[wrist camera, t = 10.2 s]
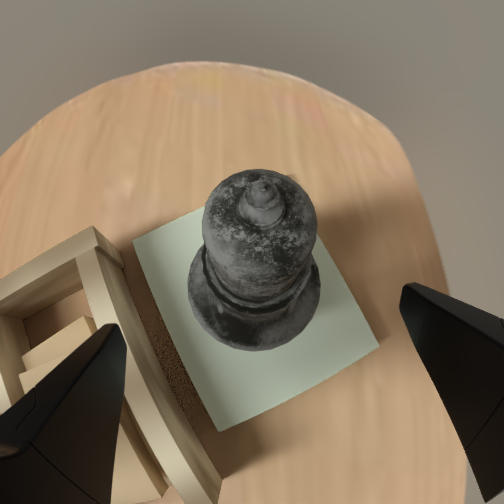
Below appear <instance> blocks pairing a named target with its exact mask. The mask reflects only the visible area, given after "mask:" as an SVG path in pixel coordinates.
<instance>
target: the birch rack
mask: <svg viewBox="0 0 504 504" xmlns="http://www.w3.org/2000/svg"><path fill="white" fill-rule="evenodd" d="M124 267H125V266H124V263H123V260H122V257H121V254H120V251H119V250H118V249H117V248H116V247H115V246H114V245H113V244H112V243H111V242H110V241H108V240H107V239H106V238H105V237H104V236H103V235H102V234H101V233H100V232H99V231H98V230H97V229H96V228H95V227H93V226H91V227H89V228H87V229H85V230H83V231H81V232H79V233H78V234H76V235H74V236H72V237H70V238H69V239H67V240H65V241H63V242H62V243H60V244H58V245H56V246H55V247H53V248H51V249H49V250H48V251H46V252H44V253H42V254H41V255H39V256H37V257H36V258H34V259H32V260H31V261H29V262H27V263H26V264H24V265H23V266H21V267H19V268H18V269H16V270H15V271H13V272H11V273H10V274H8V275H7V276H5V277H4V278H2V279H0V413H1V414H2V413H4V412H5V411H6V410H7V409H9V408H10V407H11V406H12V405H14V404H15V403H16V402H17V401H18V400H19V399H21V398H22V397H23V396H24V395H25V393H24V390H23V387H22V384H21V381H20V378H19V374H21V373H24V372H26V371H27V370H26V367H25V365H24V362H23V360H22V356H23V355H25V354H26V353H28V352H29V351H31V348H30V345H29V341H28V338H27V334H26V330H25V326H24V323H23V320H24V319H25V318H27V317H29V316H31V315H33V314H35V313H37V312H38V311H40V310H42V309H44V308H46V307H48V306H50V305H51V304H53V303H55V302H57V301H59V300H61V299H63V298H65V297H67V296H69V295H70V294H72V293H74V292H76V291H78V290H80V289H82V288H84V290H85V293H86V297H87V300H88V303H89V306H90V309H91V312H92V315H93V318H94V321H95V323H96V326H97V329H99V328H101V327H102V326H103V325H104V324H107V323H117V324H118V325H119V327H120V329H121V332H122V334H123V337H124V339H125V342H126V345H127V358H126V374H125V390H124V395H125V397H126V399H127V401H128V404H129V406H130V408H131V410H132V412H133V414H134V416H135V418H136V420H137V422H138V424H139V426H140V428H141V430H142V432H143V434H144V435H145V437H146V439H147V441H148V443H149V445H150V447H151V448H152V450H153V452H154V454H155V456H156V457H157V459H158V461H159V462H160V464H161V466H162V468H163V469H164V471H165V473H166V474H167V476H168V478H169V479H170V481H171V482H172V484H173V486H174V487H175V489H176V490H177V492H178V493H179V495H180V496H181V498H182V500H183V501H184V502H185V504H218V499H219V494H220V490H221V485H222V478H221V477H220V475H219V473H218V472H217V470H216V469H215V467H214V465H213V464H212V462H211V460H210V459H209V457H208V455H207V453H206V452H205V450H204V448H203V447H202V445H201V443H200V441H199V439H198V438H197V436H196V434H195V432H194V430H193V429H192V427H191V425H190V423H189V421H188V419H187V417H186V416H185V414H184V412H183V410H182V408H181V406H180V404H179V402H178V400H177V398H176V396H175V394H174V392H173V390H172V388H171V386H170V384H169V382H168V380H167V378H166V376H165V373H164V371H163V369H162V367H161V365H160V363H159V360H158V358H157V356H156V354H155V352H154V349H153V347H152V345H151V343H150V340H149V338H148V336H147V333H146V331H145V328H144V326H143V324H142V321H141V319H140V316H139V314H138V311H137V309H136V306H135V304H134V301H133V299H132V296H131V293H130V291H129V288H128V285H127V283H126V280H125V277H124V274H123V272H122V268H124Z"/></svg>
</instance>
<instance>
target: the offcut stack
mask: <svg viewBox="0 0 504 504" xmlns="http://www.w3.org/2000/svg"><path fill="white" fill-rule="evenodd" d="M97 330H98V329H97V326H96V323H95V321H94V319H93V318H90V317H86V316H82V317H80V318H79V319H77V320H76V321H74V322H73V323H71V324H70V325H68V326H67V327H65V328H63V329H62V330H60V331H59V332H57V333H56V334H54V335H53V336H51V337H50V338H48V339H47V340H45V341H44V342H42V343H41V344H40V345H38V346H37V347H35V348H34V349H32V350H31V351H29V352H28V353H26V354H25V355H23V356H22V360H23V362H24V365H25V367H26V370H27V371H26V372H24V373H21V374H19V378H20V381H21V384H22V387H23V390H24V393H25V394H26V393H27V392H28V391H29V390H30V389H32V388H33V387H35V385H36V384H37V383H38V382H39V381H40V380H42V379H43V378H44V377H45V376H46V375H47V374H48V373H49V372H50V371H52V370H53V369H54V368H55V367H56V366H57V365H58V364H59V363H60V362H62V361H63V360H64V359H65V358H66V357H67V356H68V355H70V354H71V353H72V352H73V351H74V350H75V349H76V348H78V347H79V346H80V345H81V344H82V343H83V342H84V341H86V340H87V339H88V338H89V337H90V336H91V335H92V334H94V333H95V332H96V331H97ZM169 485H172V482H171V481H170V479H169V478H168V476H167V474H166V473H165V471H164V469H163V468H162V466H161V464H160V462H159V461H158V459H157V457H156V456H155V454H154V452H153V450H152V448H151V447H150V445H149V443H148V441H147V439H146V437H145V435H144V434H143V432H142V430H141V428H140V426H139V424H138V422H137V420H136V418H135V416H134V414H133V412H132V410H131V408H130V406H129V404H128V401H127V399H126V397H125V395H124V397H123V404H122V410H121V416H120V423H119V430H118V438H117V445H116V454H115V462H114V472H113V482H112V494H111V504H137V503H142V502H146V501H151V500H155V499H159V498H162V496H163V495H164V493H165V492H166V490H167V489H168V487H169Z"/></svg>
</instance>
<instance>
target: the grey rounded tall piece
mask: <svg viewBox="0 0 504 504" xmlns="http://www.w3.org/2000/svg"><path fill="white" fill-rule="evenodd" d="M316 235H317V219H316V214H315V209H314V206H313V204H312V202H311V200H310V198H309V196H308V194H307V193H306V192H305V191H304V190H303V189H302V188H301V186H300V185H299V184H298V183H296V182H295V181H293V180H292V179H290V178H289V177H288V176H285V175H283V174H280V173H278V172H275V171H271V170H264V169H253V170H245V171H242V172H239V173H236V174H233V175H231V176H230V177H228V178H227V179H225V180H223V181H222V182H221V183H220V184H219V185H218V186H217V187H216V188H215V189H214V190H213V191H212V193H211V195H210V196H209V198H208V200H207V202H206V204H205V209H204V213H203V218H202V237H203V240H204V244H203V245H202V246H201V247H200V248H199V250H198V251H197V253H196V255H195V257H194V259H193V261H192V263H191V265H190V270H189V275H188V280H187V287H188V299H189V302H190V305H191V308H192V311H193V314H194V316H195V317H196V319H197V320H198V322H199V323H200V325H201V326H202V328H203V329H204V330H205V331H206V332H207V333H209V334H210V335H211V336H212V337H213V338H215V339H216V340H217V341H218V342H221V343H223V344H225V345H227V346H229V347H232V348H234V349H239V350H245V351H251V352H255V351H264V350H271V349H274V348H276V347H279V346H281V345H284V344H286V343H288V342H290V341H291V340H292V339H294V338H295V337H296V336H298V335H299V334H300V333H301V332H302V331H303V330H304V329H305V328H306V326H307V325H308V324H309V322H310V321H311V320H312V318H313V316H314V314H315V311H316V309H317V306H318V303H319V299H320V289H321V282H320V276H319V269H318V266H317V264H316V262H315V260H314V257H313V255H312V250H313V247H314V245H315V242H316Z"/></svg>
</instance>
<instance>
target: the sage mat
mask: <svg viewBox="0 0 504 504" xmlns="http://www.w3.org/2000/svg"><path fill="white" fill-rule="evenodd" d="M204 209H205V206H204V207H201V208H199V209H197V210H195V211H193V212H191V213H188V214H186V215H184V216H182V217H180V218H178V219H175V220H173V221H171V222H169V223H167V224H165V225H163V226H161V227H159V228H156V229H154V230H152V231H150V232H148V233H146V234H144V235H142V236H140V237H138V238H136V239H134V240H132V243H133V245H134V248H135V251H136V254H137V256H138V259H139V262H140V264H141V267H142V269H143V272H144V275H145V277H146V280H147V282H148V285H149V287H150V290H151V292H152V295H153V297H154V299H155V302H156V304H157V307H158V309H159V311H160V314H161V316H162V318H163V321H164V323H165V325H166V327H167V330H168V332H169V334H170V336H171V339H172V341H173V343H174V345H175V347H176V350H177V352H178V354H179V356H180V358H181V360H182V362H183V364H184V366H185V369H186V371H187V373H188V375H189V377H190V379H191V381H192V383H193V385H194V387H195V389H196V391H197V393H198V395H199V397H200V399H201V400H202V402H203V404H204V406H205V408H206V410H207V412H208V414H209V416H210V417H211V419H212V421H213V423H214V425H215V427H216V428H217V430H218V432H221V431H223V430H225V429H228V428H230V427H232V426H235V425H237V424H239V423H241V422H244V421H246V420H248V419H250V418H252V417H254V416H257V415H259V414H261V413H263V412H265V411H267V410H269V409H271V408H273V407H275V406H277V405H279V404H281V403H283V402H285V401H287V400H289V399H291V398H293V397H295V396H297V395H299V394H300V393H302V392H304V391H306V390H308V389H310V388H311V387H313V386H315V385H317V384H319V383H320V382H322V381H324V380H326V379H327V378H329V377H331V376H333V375H334V374H336V373H338V372H339V371H341V370H343V369H344V368H346V367H348V366H349V365H351V364H353V363H354V362H356V361H358V360H359V359H361V358H362V357H364V356H365V355H367V354H369V353H370V352H372V351H373V350H375V349H376V348H378V347H379V344H378V342H377V340H376V338H375V336H374V334H373V332H372V330H371V328H370V326H369V325H368V323H367V321H366V319H365V317H364V315H363V313H362V311H361V310H360V308H359V306H358V304H357V302H356V300H355V299H354V297H353V295H352V293H351V291H350V289H349V288H348V286H347V284H346V282H345V280H344V279H343V277H342V275H341V273H340V272H339V270H338V268H337V266H336V265H335V263H334V261H333V259H332V258H331V256H330V254H329V252H328V251H327V249H326V247H325V246H324V244H323V242H322V241H321V239H320V237H319V235H318V234H317V235H316V242H315V245H314V247H313V250H312V255H313V257H314V260H315V262H316V264H317V266H318V269H319V276H320V282H321V289H320V299H319V303H318V306H317V309H316V311H315V314H314V316H313V318H312V320H311V321H310V322H309V324H308V325H307V326H306V328H305V329H304V330H303V331H302V332H301V333H300V334H299V335H298V336H296V337H295V338H294V339H292V340H291V341H290V342H288V343H286V344H284V345H281V346H279V347H276V348H274V349H271V350H264V351H255V352H251V351H245V350H239V349H234V348H232V347H229V346H227V345H225V344H223V343H221V342H218V341H217V340H216V339H215V338H213V337H212V336H211V335H210V334H209V333H207V332H206V331H205V330H204V329H203V328H202V326H201V325H200V323H199V322H198V320H197V319H196V317H195V316H194V314H193V311H192V308H191V305H190V302H189V299H188V287H187V280H188V275H189V270H190V265H191V263H192V261H193V259H194V257H195V255H196V253H197V251H198V250H199V248H200V247H201V246H202V245H203V244H204V240H203V237H202V218H203V213H204Z"/></svg>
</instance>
